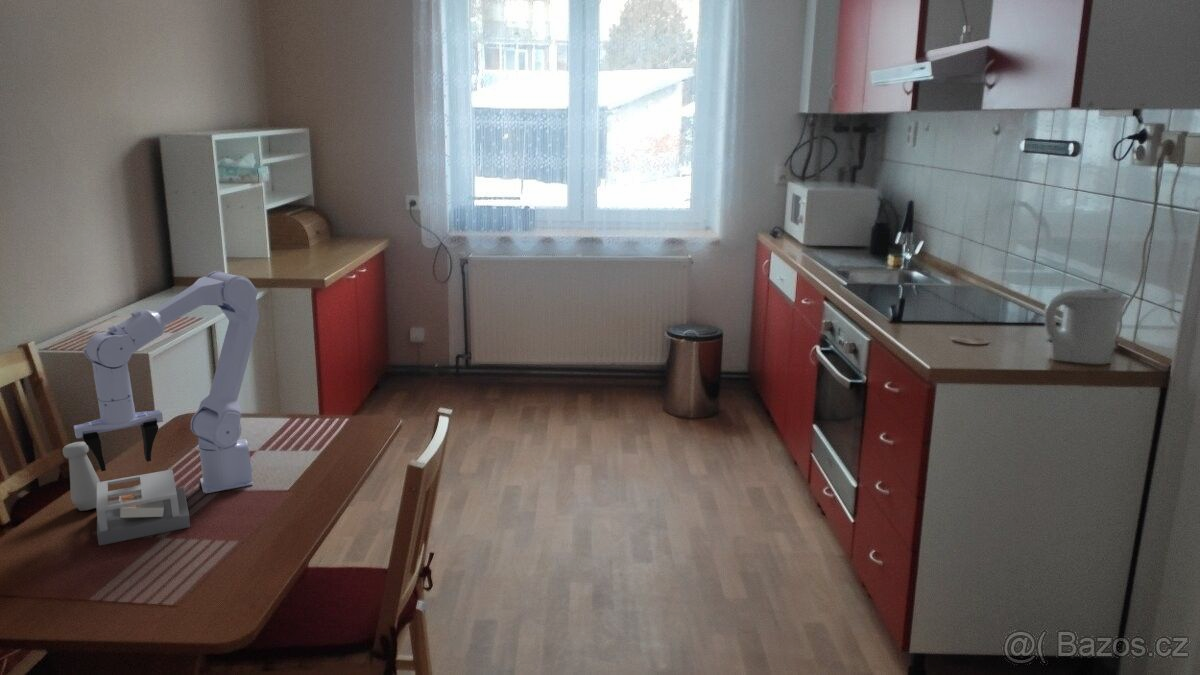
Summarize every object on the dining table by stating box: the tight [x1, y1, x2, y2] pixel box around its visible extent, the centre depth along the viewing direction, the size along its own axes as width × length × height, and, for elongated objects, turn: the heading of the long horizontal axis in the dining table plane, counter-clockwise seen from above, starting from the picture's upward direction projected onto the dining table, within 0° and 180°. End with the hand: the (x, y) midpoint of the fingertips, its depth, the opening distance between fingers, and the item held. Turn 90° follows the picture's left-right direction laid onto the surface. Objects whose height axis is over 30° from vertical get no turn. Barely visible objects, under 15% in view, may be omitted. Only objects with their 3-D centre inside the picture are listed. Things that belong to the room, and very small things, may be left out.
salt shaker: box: [62, 441, 101, 512], centre depth 171 cm, size 6×6×13 cm
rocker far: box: [118, 483, 142, 502], centre depth 169 cm, size 7×5×2 cm
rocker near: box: [120, 498, 164, 518], centre depth 163 cm, size 7×5×2 cm
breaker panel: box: [96, 469, 191, 546], centre depth 166 cm, size 15×14×7 cm
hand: (125, 464), depth 167 cm, fingers open, 7 cm apart
